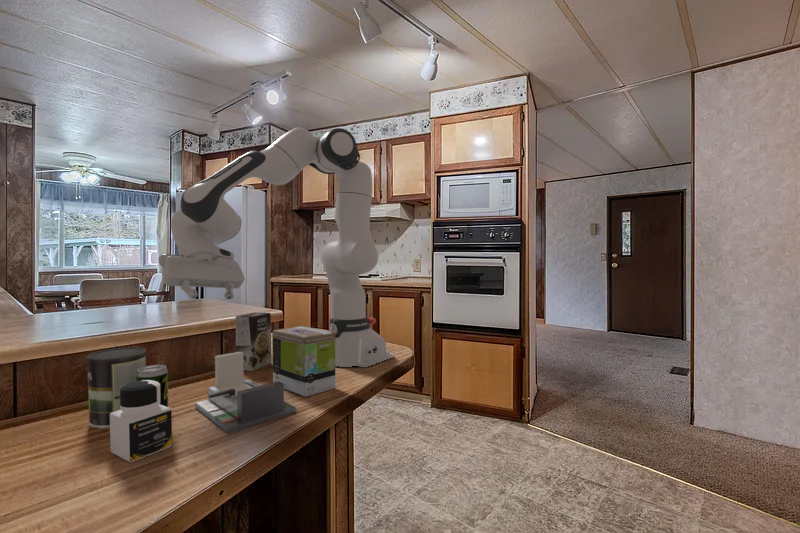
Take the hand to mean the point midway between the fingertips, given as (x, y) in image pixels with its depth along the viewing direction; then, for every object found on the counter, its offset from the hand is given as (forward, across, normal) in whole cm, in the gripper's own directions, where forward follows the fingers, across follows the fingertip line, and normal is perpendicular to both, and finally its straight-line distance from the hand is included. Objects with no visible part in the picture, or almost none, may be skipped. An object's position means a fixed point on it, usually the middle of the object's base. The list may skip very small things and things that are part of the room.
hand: (212, 297), depth 104 cm
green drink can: (+28, -16, +8) cm, 33 cm away
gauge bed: (+30, 0, +2) cm, 30 cm away
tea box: (+27, +18, +3) cm, 33 cm away
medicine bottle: (+34, -21, +2) cm, 40 cm away
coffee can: (+21, -19, +16) cm, 32 cm away
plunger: (+26, -2, +5) cm, 27 cm away
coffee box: (+8, +21, +23) cm, 32 cm away
